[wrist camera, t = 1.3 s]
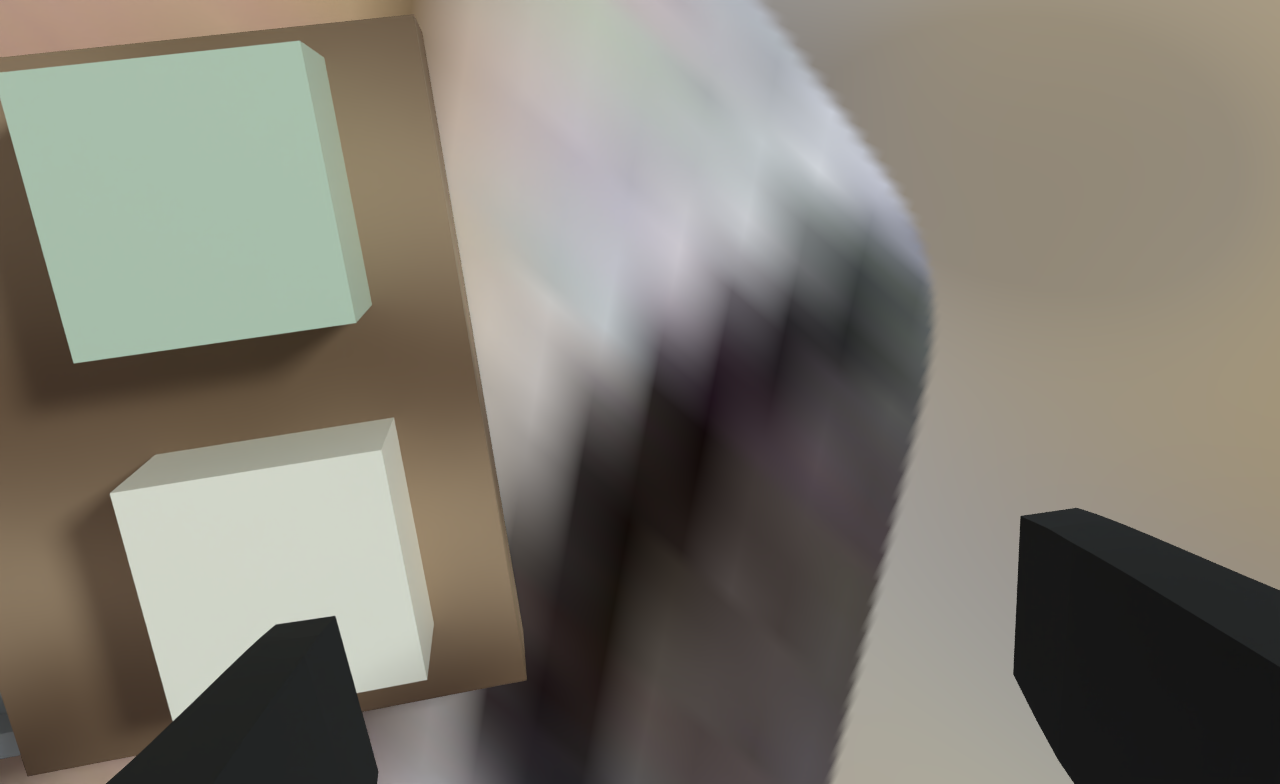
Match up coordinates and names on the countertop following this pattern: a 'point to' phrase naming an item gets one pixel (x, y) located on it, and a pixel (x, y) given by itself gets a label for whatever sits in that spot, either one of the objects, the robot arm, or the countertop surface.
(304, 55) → the green tile
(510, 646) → the walnut board
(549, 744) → the countertop surface
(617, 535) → the countertop surface
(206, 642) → the cream tile
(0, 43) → the countertop surface
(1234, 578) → the robot arm
